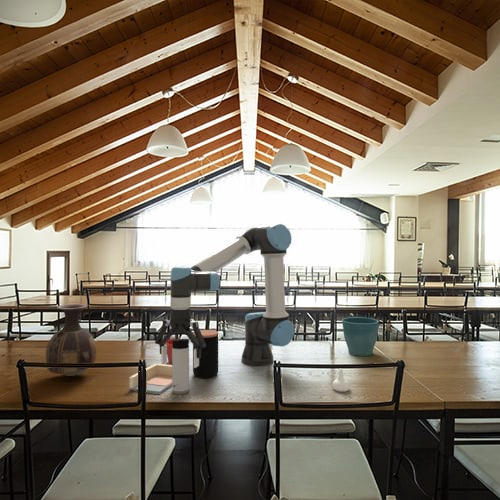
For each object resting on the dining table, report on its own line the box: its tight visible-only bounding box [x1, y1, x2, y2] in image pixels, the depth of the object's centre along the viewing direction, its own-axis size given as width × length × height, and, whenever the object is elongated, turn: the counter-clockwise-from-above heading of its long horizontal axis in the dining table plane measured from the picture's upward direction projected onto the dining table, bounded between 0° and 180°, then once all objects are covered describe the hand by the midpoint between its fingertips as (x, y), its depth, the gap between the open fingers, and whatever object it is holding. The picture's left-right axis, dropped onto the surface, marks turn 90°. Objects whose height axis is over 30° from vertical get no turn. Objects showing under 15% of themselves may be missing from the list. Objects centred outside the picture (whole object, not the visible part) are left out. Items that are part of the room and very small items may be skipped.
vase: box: [44, 303, 97, 377], centre depth 159 cm, size 23×19×30 cm
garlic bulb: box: [332, 368, 350, 393], centre depth 145 cm, size 6×6×8 cm
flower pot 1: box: [165, 338, 181, 365], centre depth 180 cm, size 11×11×10 cm
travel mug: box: [171, 338, 190, 395], centre depth 143 cm, size 6×7×20 cm
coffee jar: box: [192, 329, 219, 380], centre depth 162 cm, size 11×11×18 cm
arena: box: [129, 363, 172, 395], centre depth 151 cm, size 13×18×5 cm
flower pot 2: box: [341, 316, 380, 357], centre depth 195 cm, size 18×18×17 cm
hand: (180, 364), depth 143 cm, fingers open, 13 cm apart
